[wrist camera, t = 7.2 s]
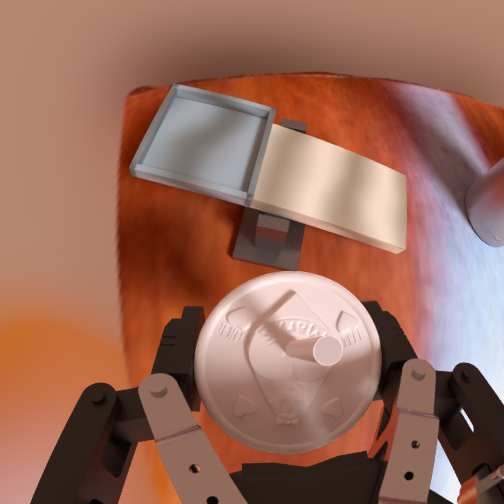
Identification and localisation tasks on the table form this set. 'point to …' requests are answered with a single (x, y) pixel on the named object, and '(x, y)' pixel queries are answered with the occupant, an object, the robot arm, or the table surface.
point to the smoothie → (288, 362)
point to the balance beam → (271, 168)
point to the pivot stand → (270, 232)
